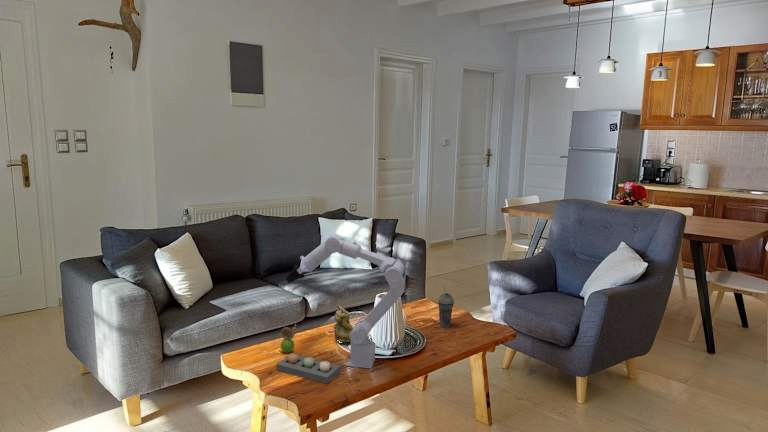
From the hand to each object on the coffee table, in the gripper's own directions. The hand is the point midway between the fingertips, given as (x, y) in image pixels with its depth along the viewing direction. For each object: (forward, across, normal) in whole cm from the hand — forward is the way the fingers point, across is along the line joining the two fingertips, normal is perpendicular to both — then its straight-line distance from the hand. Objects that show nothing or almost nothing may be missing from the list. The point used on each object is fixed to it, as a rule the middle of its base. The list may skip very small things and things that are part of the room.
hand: (290, 277), depth 208 cm
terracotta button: (+17, +9, +26) cm, 32 cm away
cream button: (+7, +13, +34) cm, 37 cm away
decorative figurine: (+9, -19, +36) cm, 41 cm away
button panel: (+13, +11, +31) cm, 36 cm away
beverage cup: (-22, -45, +62) cm, 80 cm away
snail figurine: (+23, -3, +23) cm, 33 cm away
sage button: (+12, +11, +30) cm, 34 cm away
